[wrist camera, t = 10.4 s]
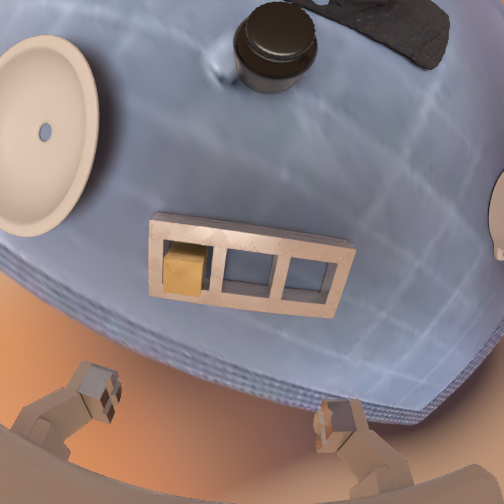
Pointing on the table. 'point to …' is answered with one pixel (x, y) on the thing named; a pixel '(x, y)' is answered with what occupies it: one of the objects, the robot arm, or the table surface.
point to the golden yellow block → (185, 268)
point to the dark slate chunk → (394, 24)
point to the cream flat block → (253, 240)
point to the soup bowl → (28, 133)
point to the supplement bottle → (274, 47)
